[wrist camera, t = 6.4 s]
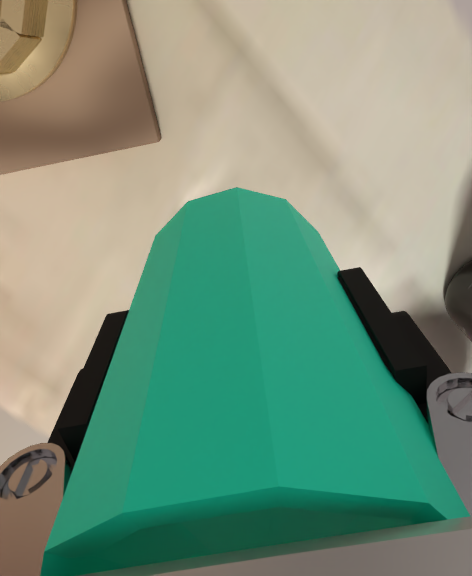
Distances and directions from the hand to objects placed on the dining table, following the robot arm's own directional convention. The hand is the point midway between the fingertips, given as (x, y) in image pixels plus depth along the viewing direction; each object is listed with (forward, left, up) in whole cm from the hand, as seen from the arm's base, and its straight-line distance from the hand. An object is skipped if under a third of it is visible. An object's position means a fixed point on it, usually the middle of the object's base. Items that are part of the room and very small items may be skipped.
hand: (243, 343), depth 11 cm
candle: (0, 0, -4) cm, 4 cm away
